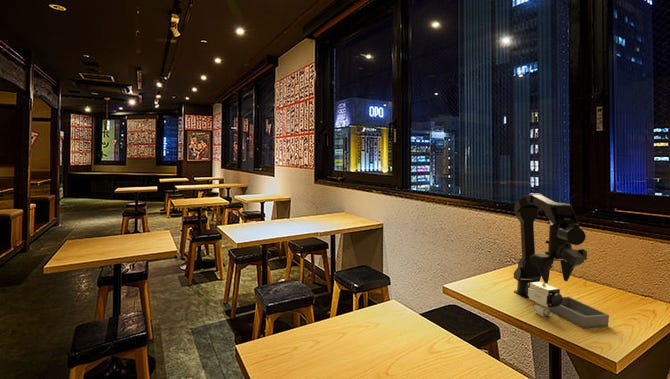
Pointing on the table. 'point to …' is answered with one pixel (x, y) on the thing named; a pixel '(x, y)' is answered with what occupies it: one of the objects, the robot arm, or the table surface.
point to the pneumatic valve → (543, 297)
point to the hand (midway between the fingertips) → (555, 282)
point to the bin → (580, 314)
